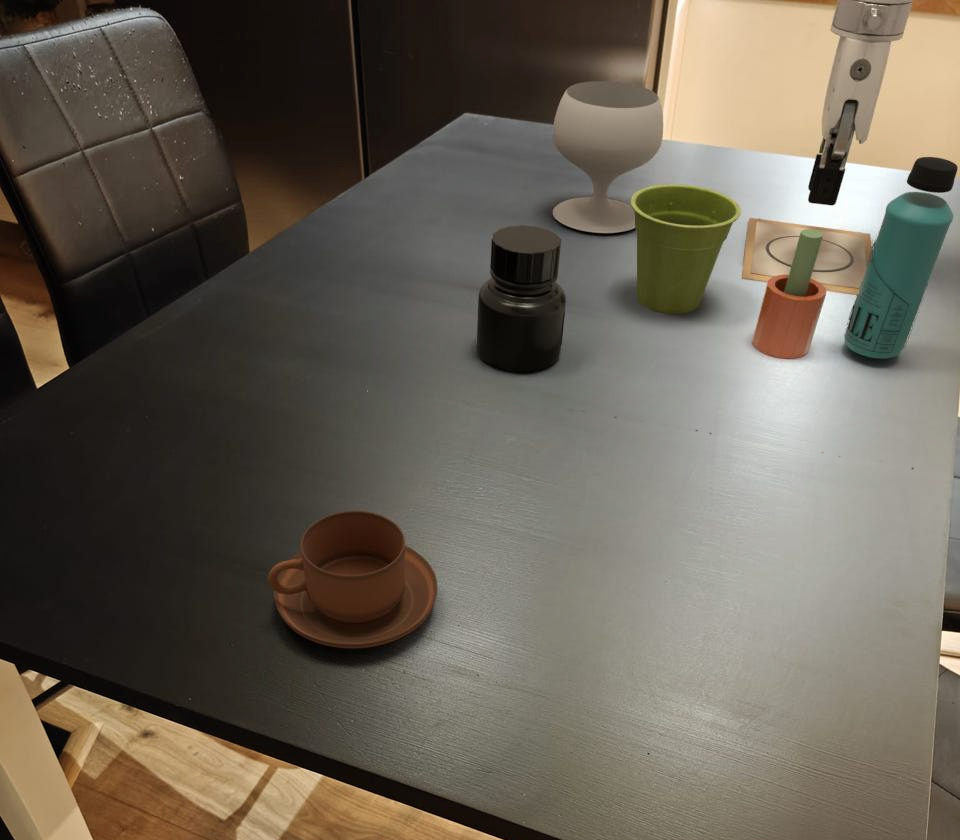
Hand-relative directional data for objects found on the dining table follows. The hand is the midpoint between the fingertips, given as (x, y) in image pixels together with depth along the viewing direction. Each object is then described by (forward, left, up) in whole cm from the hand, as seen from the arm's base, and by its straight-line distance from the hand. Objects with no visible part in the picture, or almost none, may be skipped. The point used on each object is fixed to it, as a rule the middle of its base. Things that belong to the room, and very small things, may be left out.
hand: (821, 195), depth 112 cm
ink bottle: (+29, +34, -9) cm, 46 cm away
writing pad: (-1, -2, -8) cm, 9 cm away
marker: (+2, +24, -8) cm, 25 cm away
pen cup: (+2, +24, -8) cm, 25 cm away
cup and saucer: (+32, +76, -9) cm, 83 cm away
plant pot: (+15, +17, -9) cm, 24 cm away
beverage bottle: (-7, +23, -9) cm, 25 cm away
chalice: (+27, -6, -9) cm, 29 cm away
